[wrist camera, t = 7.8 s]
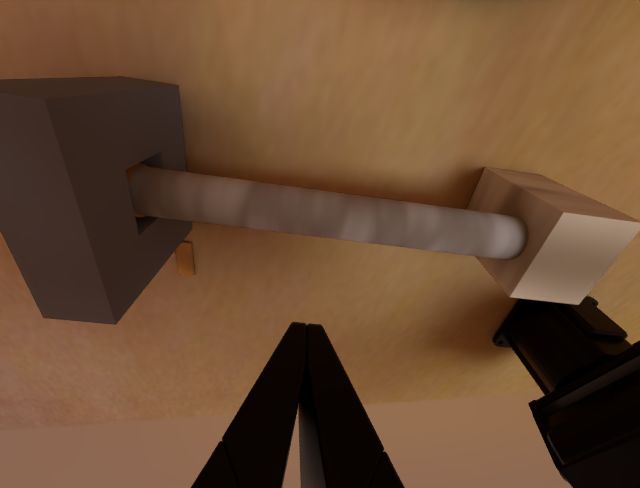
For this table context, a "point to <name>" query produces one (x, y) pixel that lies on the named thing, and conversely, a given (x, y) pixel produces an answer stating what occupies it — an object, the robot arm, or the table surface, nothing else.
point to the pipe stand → (416, 223)
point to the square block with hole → (86, 189)
